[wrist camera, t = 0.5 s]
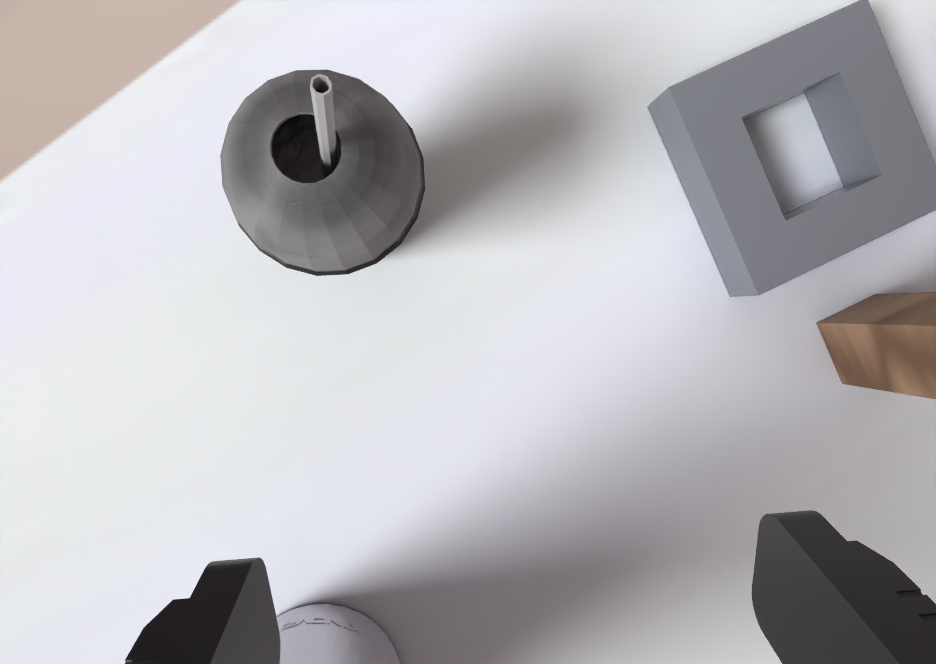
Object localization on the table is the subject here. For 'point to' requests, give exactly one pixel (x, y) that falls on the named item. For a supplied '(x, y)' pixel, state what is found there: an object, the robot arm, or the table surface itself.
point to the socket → (844, 130)
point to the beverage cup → (322, 172)
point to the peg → (886, 343)
